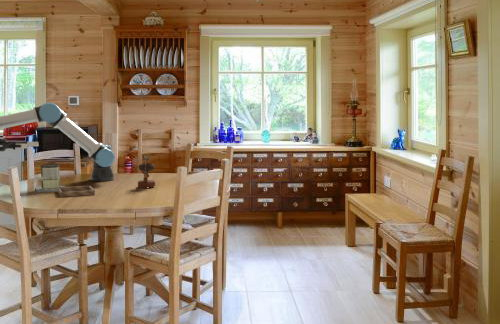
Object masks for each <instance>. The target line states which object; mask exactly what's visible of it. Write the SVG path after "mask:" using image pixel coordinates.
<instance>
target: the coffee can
mask: <svg viewBox="0 0 500 324" xmlns="http://www.w3.org/2000/svg"><path fill="white" fill-rule="evenodd" d="M39 166H40V178H41V179H40V180H41V187H42V190H56V189H58V187H60V186H61V180H60V178H61V177H60V164H59V163H45V164H40V165H39Z"/></svg>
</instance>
